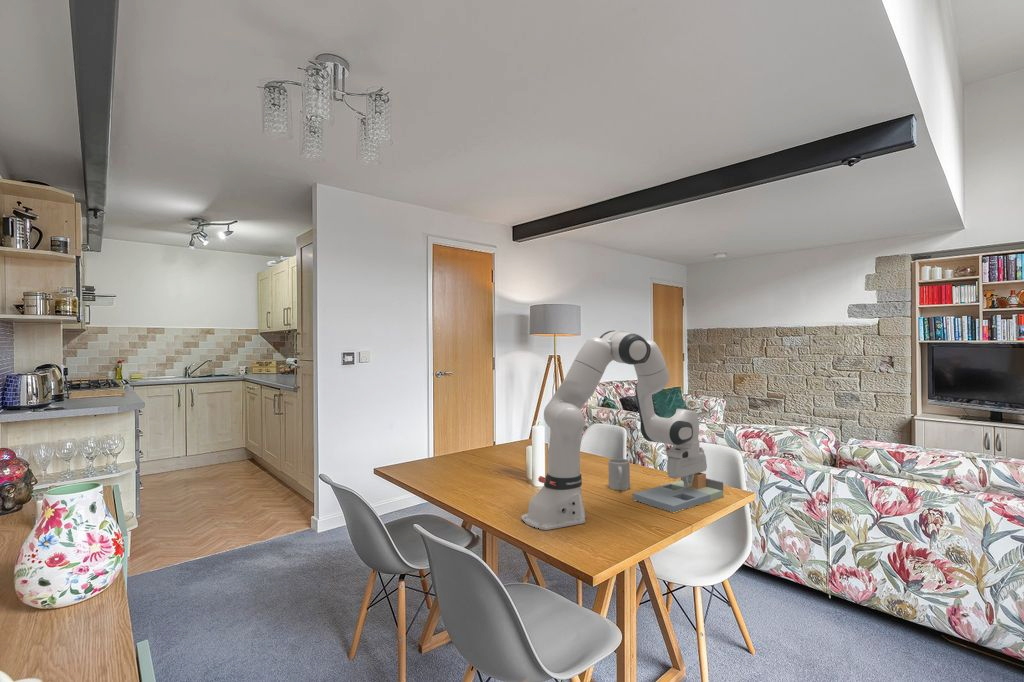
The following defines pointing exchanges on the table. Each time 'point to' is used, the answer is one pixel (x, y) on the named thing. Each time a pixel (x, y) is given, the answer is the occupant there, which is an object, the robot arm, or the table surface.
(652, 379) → the robot arm
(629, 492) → the table surface
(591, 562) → the table surface
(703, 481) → the block
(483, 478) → the table surface
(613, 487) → the mug
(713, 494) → the platform
